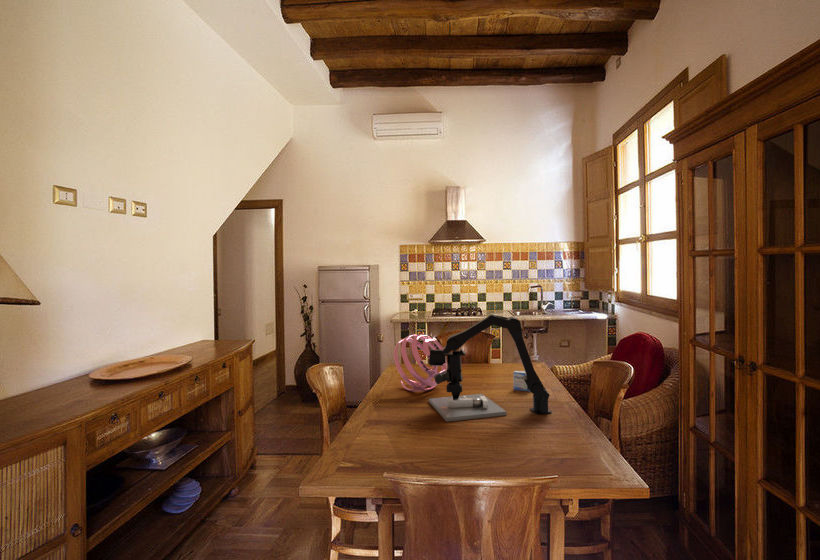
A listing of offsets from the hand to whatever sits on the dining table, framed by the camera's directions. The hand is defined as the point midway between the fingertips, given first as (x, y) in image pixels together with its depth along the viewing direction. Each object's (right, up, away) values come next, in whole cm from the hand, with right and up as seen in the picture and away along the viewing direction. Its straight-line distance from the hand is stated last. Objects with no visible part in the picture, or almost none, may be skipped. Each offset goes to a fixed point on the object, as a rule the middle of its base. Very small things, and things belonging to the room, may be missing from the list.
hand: (455, 402), depth 178 cm
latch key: (+5, -1, -2) cm, 5 cm away
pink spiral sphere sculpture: (-13, -2, +30) cm, 33 cm away
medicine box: (+35, -2, +26) cm, 44 cm away
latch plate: (+4, -3, +1) cm, 5 cm away
